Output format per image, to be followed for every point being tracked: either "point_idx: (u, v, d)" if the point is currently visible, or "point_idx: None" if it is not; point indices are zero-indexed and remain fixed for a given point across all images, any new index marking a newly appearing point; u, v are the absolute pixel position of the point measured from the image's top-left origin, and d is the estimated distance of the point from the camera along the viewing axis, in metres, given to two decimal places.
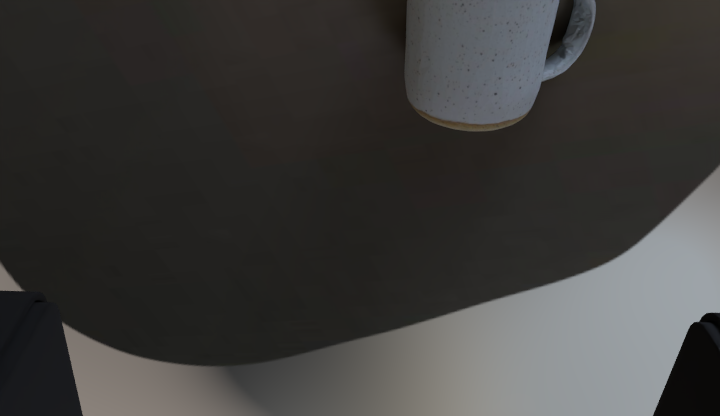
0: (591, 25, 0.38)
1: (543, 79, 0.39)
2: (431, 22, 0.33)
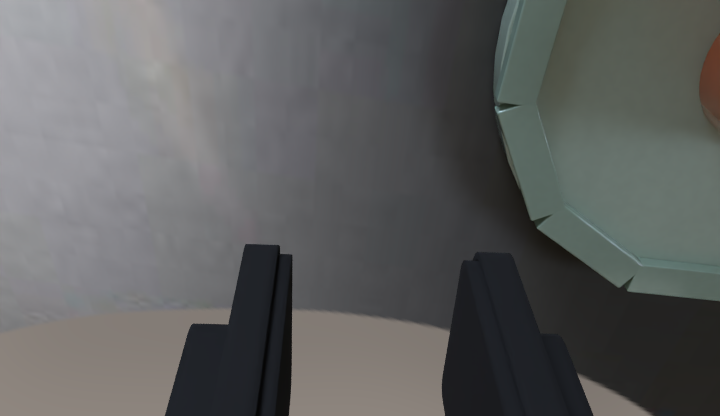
0: None
1: None
2: None
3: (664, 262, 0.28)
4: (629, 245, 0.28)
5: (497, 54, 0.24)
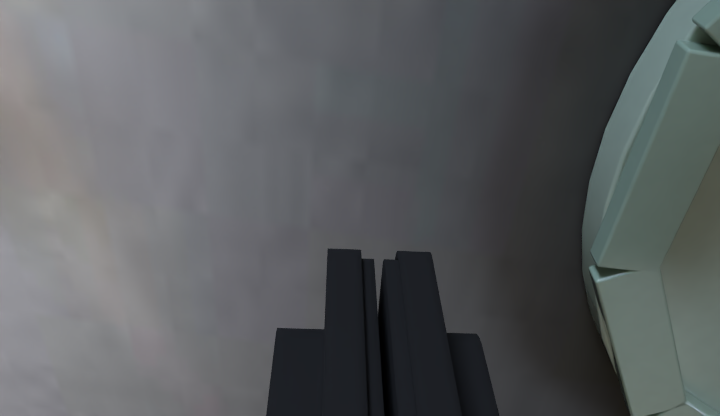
0: None
1: None
2: None
3: None
4: None
5: (595, 184, 0.15)
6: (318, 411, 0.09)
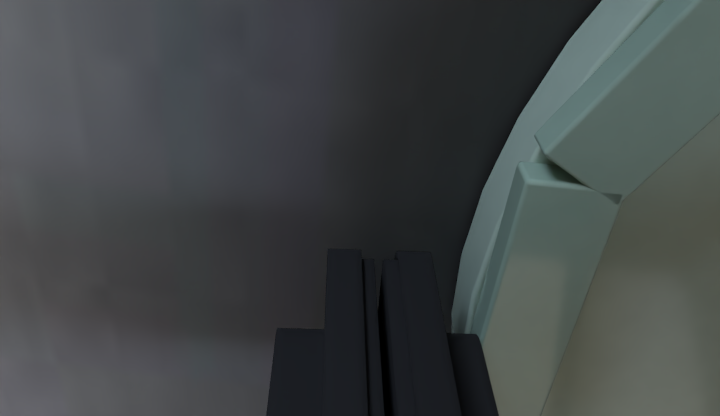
0: None
1: None
2: None
3: None
4: None
5: (455, 320, 0.12)
6: (318, 411, 0.09)
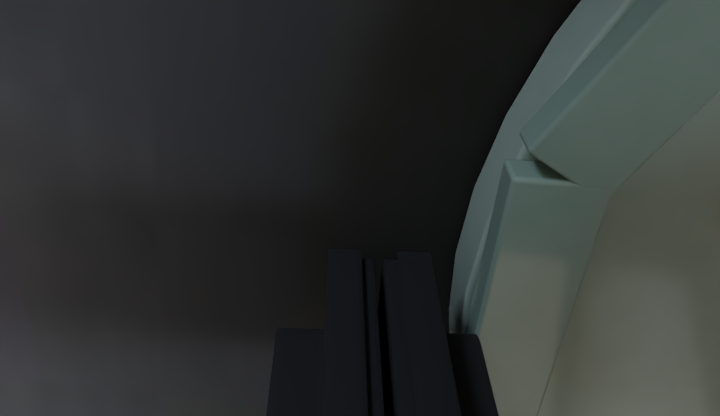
0: None
1: None
2: None
3: None
4: None
5: (451, 318, 0.12)
6: (318, 411, 0.09)
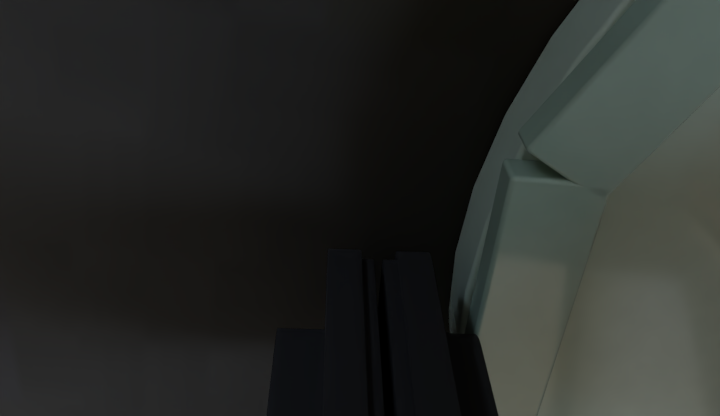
0: None
1: None
2: None
3: None
4: None
5: (451, 318, 0.12)
6: (318, 411, 0.09)
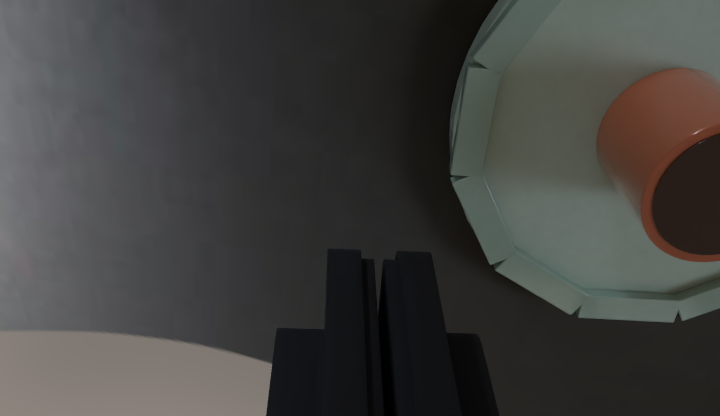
0: None
1: None
2: None
3: (607, 292, 0.34)
4: (576, 279, 0.34)
5: (450, 136, 0.31)
6: (318, 411, 0.09)
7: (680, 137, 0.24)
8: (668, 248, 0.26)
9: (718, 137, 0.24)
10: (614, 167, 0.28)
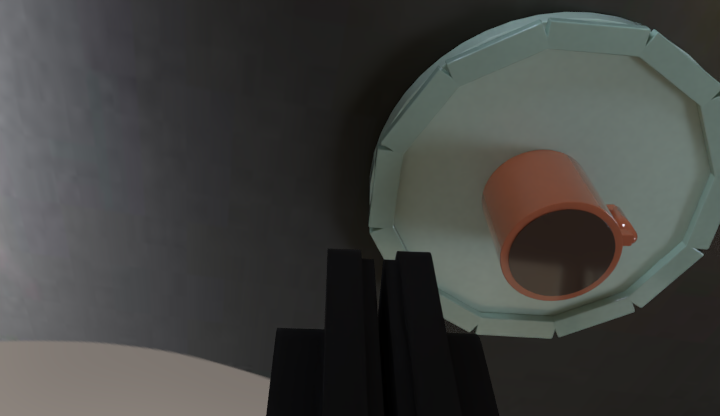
0: None
1: None
2: None
3: (498, 314, 0.43)
4: (473, 304, 0.42)
5: (369, 195, 0.39)
6: (318, 411, 0.09)
7: (525, 213, 0.33)
8: (523, 291, 0.35)
9: (551, 214, 0.32)
10: (489, 226, 0.36)
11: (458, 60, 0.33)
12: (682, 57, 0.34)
